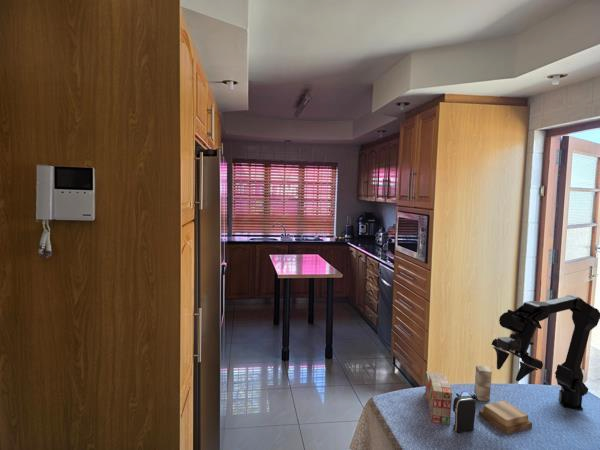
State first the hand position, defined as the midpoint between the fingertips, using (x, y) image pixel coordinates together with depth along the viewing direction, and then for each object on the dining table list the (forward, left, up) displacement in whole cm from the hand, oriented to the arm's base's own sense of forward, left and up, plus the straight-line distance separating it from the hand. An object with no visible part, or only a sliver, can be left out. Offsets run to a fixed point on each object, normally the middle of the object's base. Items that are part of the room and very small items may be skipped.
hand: (507, 374), depth 144 cm
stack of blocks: (+24, +4, -16) cm, 29 cm away
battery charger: (+16, +15, -15) cm, 27 cm away
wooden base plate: (+1, +5, -16) cm, 17 cm away
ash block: (+6, -10, -15) cm, 19 cm away
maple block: (+1, +5, -13) cm, 14 cm away
